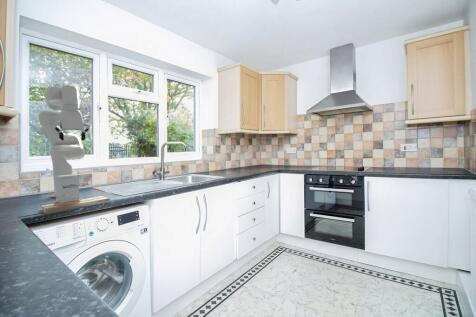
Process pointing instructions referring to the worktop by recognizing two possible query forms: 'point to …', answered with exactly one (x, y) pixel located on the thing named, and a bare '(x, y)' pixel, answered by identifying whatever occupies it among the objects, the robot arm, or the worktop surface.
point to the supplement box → (67, 188)
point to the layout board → (74, 204)
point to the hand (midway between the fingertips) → (72, 140)
